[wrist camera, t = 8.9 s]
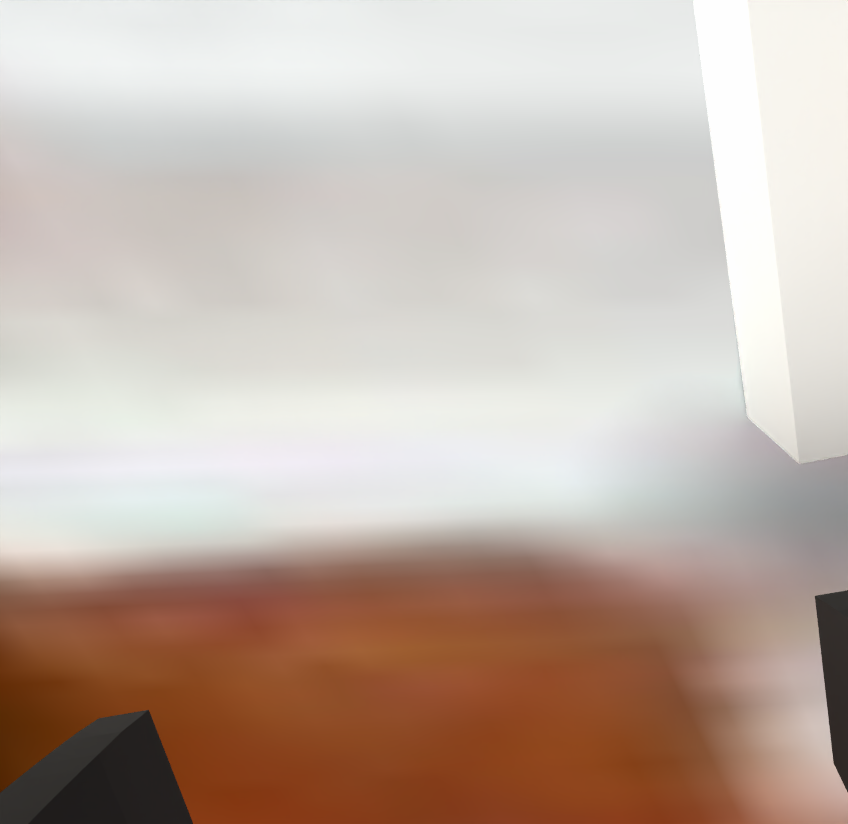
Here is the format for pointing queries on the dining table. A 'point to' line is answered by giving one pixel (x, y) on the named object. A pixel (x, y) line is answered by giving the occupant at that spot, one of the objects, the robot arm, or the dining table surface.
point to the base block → (784, 208)
